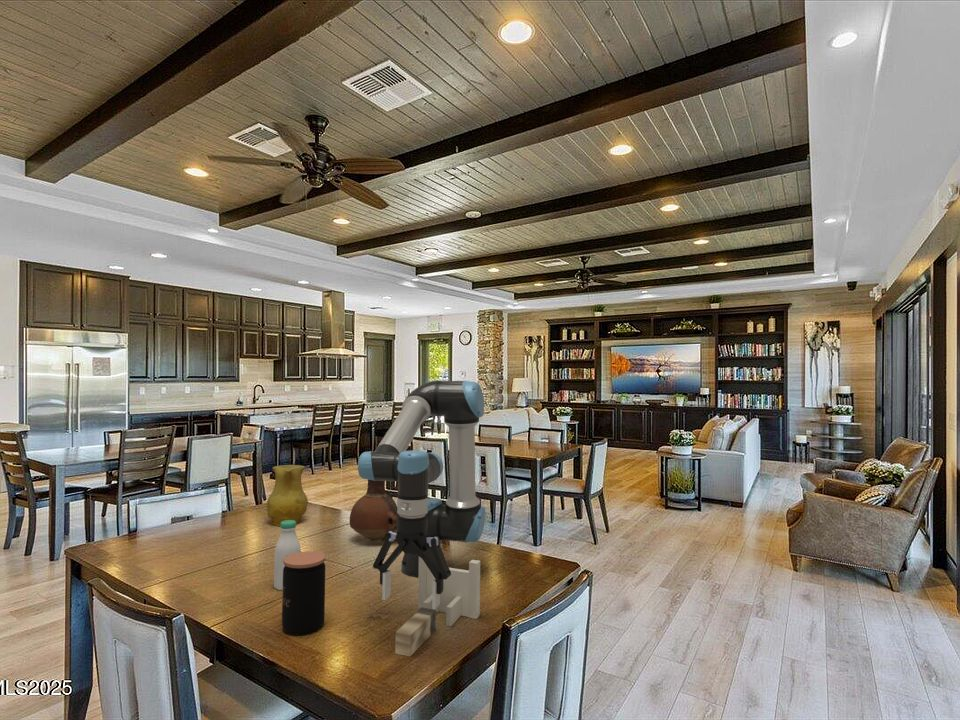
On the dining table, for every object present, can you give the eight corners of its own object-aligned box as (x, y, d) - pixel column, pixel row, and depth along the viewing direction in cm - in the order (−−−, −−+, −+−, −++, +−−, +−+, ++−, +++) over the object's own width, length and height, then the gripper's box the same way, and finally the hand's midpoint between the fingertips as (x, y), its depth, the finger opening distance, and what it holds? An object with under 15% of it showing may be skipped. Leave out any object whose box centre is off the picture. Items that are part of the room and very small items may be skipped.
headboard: (407, 618, 146) (407, 562, 147) (421, 605, 155) (422, 552, 155) (467, 629, 140) (468, 571, 141) (479, 615, 149) (480, 560, 149)
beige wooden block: (410, 656, 127) (410, 634, 127) (394, 653, 128) (395, 631, 128) (435, 630, 140) (435, 609, 140) (421, 627, 141) (421, 607, 142)
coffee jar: (288, 617, 146) (289, 551, 146) (328, 616, 147) (329, 550, 147) (276, 637, 135) (278, 565, 136) (319, 635, 136) (321, 564, 137)
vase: (414, 539, 215) (415, 464, 216) (378, 553, 199) (379, 471, 199) (370, 528, 229) (372, 458, 230) (334, 540, 213) (335, 464, 213)
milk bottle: (275, 592, 162) (276, 526, 163) (272, 583, 169) (273, 519, 169) (301, 588, 166) (303, 523, 166) (297, 579, 172) (299, 517, 173)
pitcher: (256, 526, 230) (261, 467, 232) (279, 516, 248) (284, 462, 250) (293, 529, 227) (298, 470, 229) (314, 520, 245) (318, 465, 247)
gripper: (360, 513, 133) (358, 600, 132) (453, 523, 124) (451, 617, 123) (376, 506, 140) (374, 589, 139) (465, 516, 131) (463, 604, 130)
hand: (410, 602), depth 131 cm, fingers open, 13 cm apart
